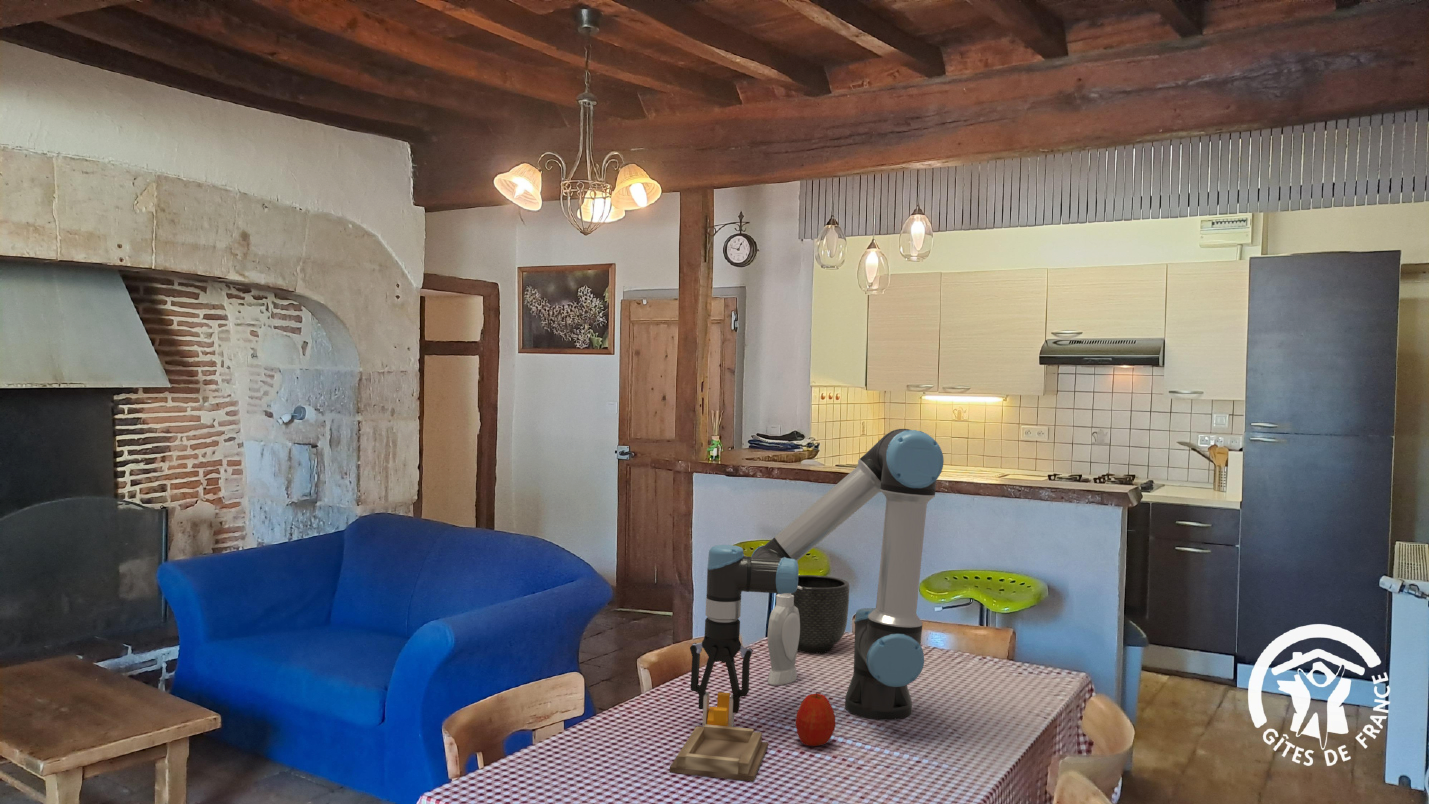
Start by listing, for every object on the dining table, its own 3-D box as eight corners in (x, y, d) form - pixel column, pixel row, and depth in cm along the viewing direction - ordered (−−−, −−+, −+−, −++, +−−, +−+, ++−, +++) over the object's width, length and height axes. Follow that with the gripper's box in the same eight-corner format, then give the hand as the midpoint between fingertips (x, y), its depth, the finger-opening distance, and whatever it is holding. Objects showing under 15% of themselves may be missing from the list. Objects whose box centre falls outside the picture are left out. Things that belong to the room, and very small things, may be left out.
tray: (767, 747, 197) (768, 730, 197) (753, 781, 179) (754, 763, 179) (691, 739, 200) (691, 722, 200) (669, 772, 182) (670, 754, 182)
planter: (774, 655, 266) (776, 585, 266) (781, 637, 286) (782, 573, 285) (846, 660, 263) (848, 590, 263) (848, 642, 282) (850, 577, 282)
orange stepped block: (709, 721, 212) (710, 691, 212) (729, 722, 211) (730, 693, 211) (704, 741, 200) (705, 709, 200) (725, 742, 199) (726, 710, 199)
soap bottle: (783, 691, 234) (786, 590, 234) (758, 684, 239) (761, 585, 239) (814, 680, 244) (817, 583, 244) (789, 673, 249) (792, 578, 249)
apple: (824, 754, 194) (825, 700, 193) (787, 745, 198) (788, 693, 198) (841, 742, 201) (842, 690, 200) (805, 734, 205) (806, 683, 205)
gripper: (766, 617, 210) (761, 724, 211) (686, 610, 214) (681, 715, 214) (761, 626, 203) (756, 736, 203) (678, 618, 207) (673, 726, 207)
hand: (717, 725), depth 209 cm, fingers open, 5 cm apart
